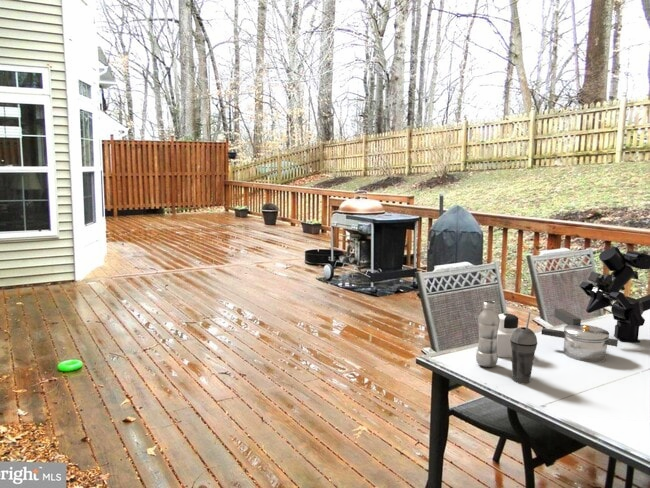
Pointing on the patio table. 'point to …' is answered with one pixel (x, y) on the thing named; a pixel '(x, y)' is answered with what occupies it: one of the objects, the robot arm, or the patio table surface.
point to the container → (506, 334)
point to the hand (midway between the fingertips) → (587, 311)
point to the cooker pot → (582, 346)
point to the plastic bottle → (488, 335)
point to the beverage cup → (523, 353)
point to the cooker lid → (580, 327)
